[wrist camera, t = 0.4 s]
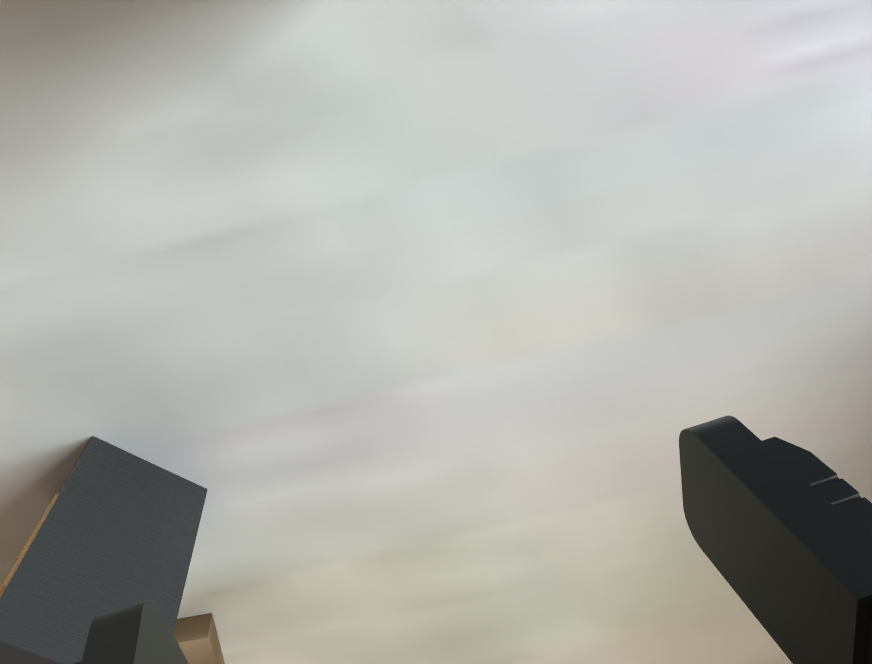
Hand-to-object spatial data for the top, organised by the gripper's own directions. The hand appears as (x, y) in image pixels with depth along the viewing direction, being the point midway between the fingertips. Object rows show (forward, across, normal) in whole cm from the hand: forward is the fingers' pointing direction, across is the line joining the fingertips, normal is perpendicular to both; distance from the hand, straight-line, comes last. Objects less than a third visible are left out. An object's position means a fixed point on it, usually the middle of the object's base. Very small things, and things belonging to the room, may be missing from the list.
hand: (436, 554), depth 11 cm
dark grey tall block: (+19, +11, +10) cm, 24 cm away
